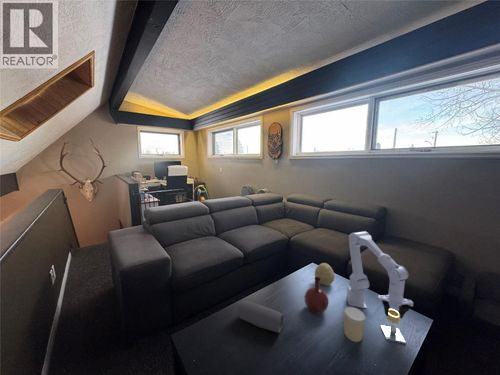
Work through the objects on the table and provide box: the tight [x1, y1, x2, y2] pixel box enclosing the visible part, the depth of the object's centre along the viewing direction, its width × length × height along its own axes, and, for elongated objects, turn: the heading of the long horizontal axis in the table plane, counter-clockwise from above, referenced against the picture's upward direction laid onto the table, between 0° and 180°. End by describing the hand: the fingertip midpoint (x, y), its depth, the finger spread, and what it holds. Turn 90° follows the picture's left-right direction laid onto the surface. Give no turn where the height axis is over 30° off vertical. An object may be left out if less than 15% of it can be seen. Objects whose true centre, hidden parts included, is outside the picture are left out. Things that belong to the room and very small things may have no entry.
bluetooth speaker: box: [237, 300, 284, 334], centre depth 104 cm, size 23×9×10 cm, turn 65°
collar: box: [385, 308, 402, 325], centre depth 99 cm, size 5×5×4 cm
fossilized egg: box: [314, 262, 335, 286], centre depth 137 cm, size 13×13×15 cm
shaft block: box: [379, 324, 407, 345], centre depth 98 cm, size 8×8×4 cm
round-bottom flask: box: [304, 277, 330, 314], centre depth 113 cm, size 13×13×20 cm
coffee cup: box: [343, 306, 367, 343], centre depth 97 cm, size 9×9×12 cm
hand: (393, 315), depth 99 cm, fingers closed on collar, 5 cm apart
